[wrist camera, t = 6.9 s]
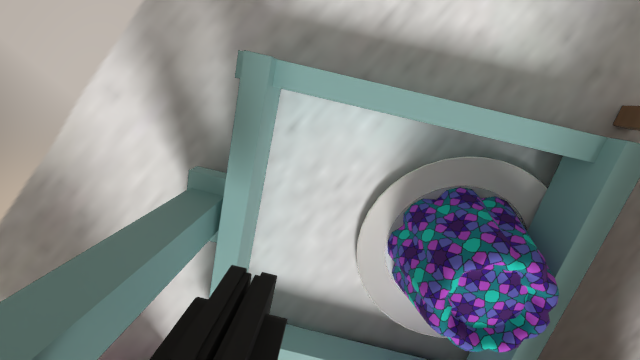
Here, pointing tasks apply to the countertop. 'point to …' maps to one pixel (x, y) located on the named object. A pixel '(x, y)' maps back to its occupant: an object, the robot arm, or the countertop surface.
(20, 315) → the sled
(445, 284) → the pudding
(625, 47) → the countertop surface
